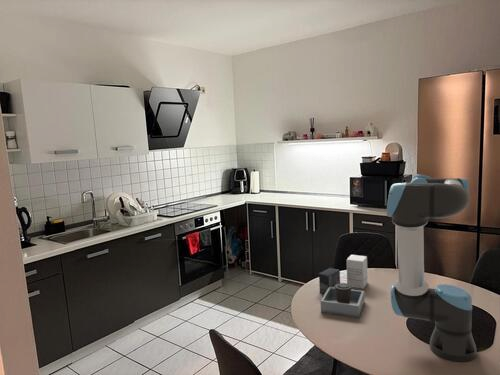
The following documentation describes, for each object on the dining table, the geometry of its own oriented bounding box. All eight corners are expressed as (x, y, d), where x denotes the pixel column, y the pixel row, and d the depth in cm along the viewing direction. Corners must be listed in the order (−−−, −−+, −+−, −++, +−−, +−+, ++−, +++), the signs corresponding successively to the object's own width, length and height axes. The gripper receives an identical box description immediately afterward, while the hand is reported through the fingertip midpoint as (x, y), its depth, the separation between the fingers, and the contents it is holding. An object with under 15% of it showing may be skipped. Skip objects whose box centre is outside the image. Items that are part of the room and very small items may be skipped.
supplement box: (351, 280, 210) (350, 254, 208) (367, 282, 205) (367, 256, 203) (346, 286, 202) (345, 259, 200) (363, 289, 198) (363, 261, 196)
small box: (330, 286, 204) (329, 267, 203) (341, 289, 199) (340, 269, 198) (318, 292, 197) (318, 272, 195) (329, 295, 192) (329, 275, 191)
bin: (359, 317, 167) (358, 306, 167) (320, 312, 174) (320, 301, 174) (364, 301, 183) (364, 291, 182) (329, 297, 190) (328, 286, 189)
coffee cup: (331, 305, 178) (331, 285, 177) (340, 299, 184) (339, 280, 183) (347, 310, 173) (346, 289, 171) (355, 304, 178) (355, 283, 177)
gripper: (434, 212, 159) (425, 262, 160) (417, 208, 184) (409, 251, 185) (416, 209, 160) (407, 258, 161) (401, 205, 185) (393, 248, 186)
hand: (408, 254), depth 173 cm, fingers open, 13 cm apart
